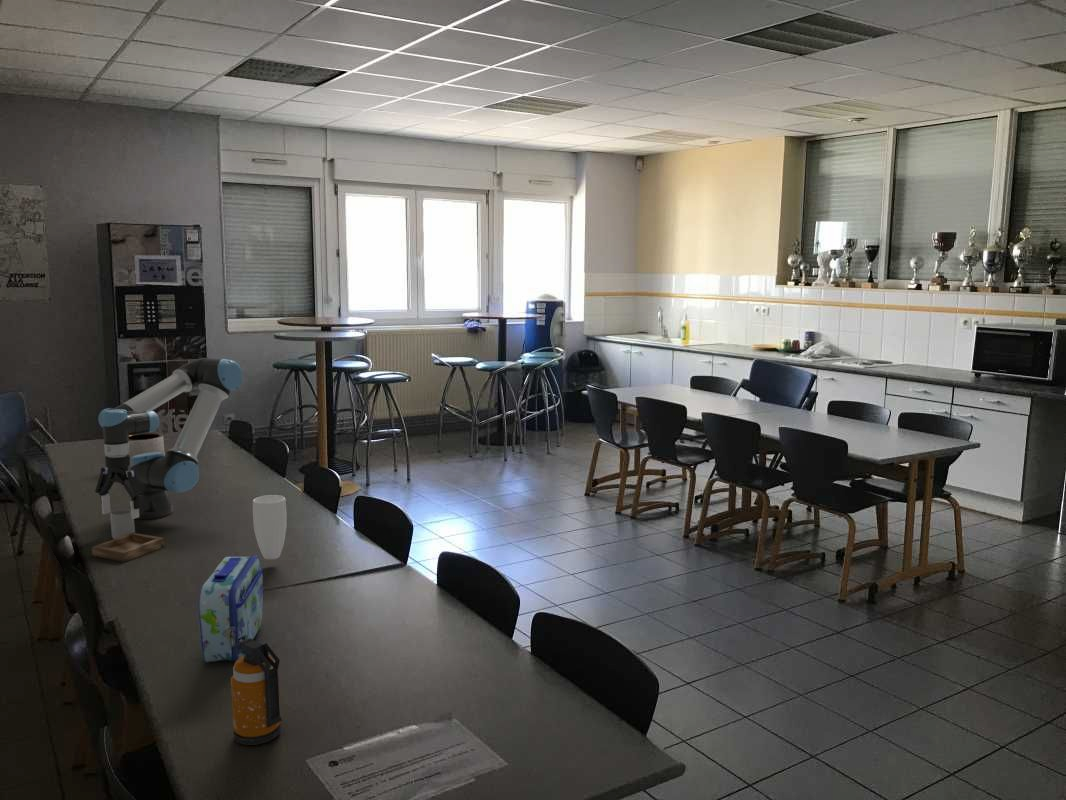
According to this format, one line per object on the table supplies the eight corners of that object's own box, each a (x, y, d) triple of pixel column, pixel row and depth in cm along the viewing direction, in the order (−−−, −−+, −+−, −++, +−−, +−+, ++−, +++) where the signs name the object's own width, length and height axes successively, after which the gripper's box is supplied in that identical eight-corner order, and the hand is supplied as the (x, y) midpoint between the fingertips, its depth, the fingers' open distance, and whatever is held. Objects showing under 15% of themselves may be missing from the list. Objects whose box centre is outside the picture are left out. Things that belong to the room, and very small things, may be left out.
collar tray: (133, 541, 288) (132, 532, 287) (164, 546, 282) (163, 537, 282) (92, 555, 273) (91, 546, 273) (124, 562, 268) (123, 552, 267)
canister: (262, 718, 176) (257, 628, 173) (297, 735, 170) (293, 641, 167) (224, 738, 169) (219, 644, 166) (260, 756, 163) (255, 659, 159)
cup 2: (296, 562, 268) (293, 496, 264) (276, 573, 258) (273, 505, 255) (268, 558, 271) (265, 493, 268) (247, 569, 262) (244, 501, 258)
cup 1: (112, 541, 288) (110, 516, 286) (111, 533, 296) (109, 508, 295) (135, 538, 291) (133, 513, 289) (134, 530, 300) (132, 505, 298)
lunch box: (244, 669, 198) (239, 584, 194) (196, 671, 197) (191, 585, 193) (269, 622, 223) (265, 546, 220) (227, 624, 222) (222, 547, 219)
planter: (155, 475, 377) (152, 440, 374) (115, 474, 377) (112, 440, 375) (172, 465, 394) (170, 432, 392) (134, 465, 395) (132, 432, 392)
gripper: (81, 453, 290) (85, 514, 293) (135, 460, 281) (138, 522, 284) (100, 449, 297) (103, 508, 300) (153, 456, 287) (156, 517, 291)
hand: (120, 515), depth 292 cm, fingers open, 13 cm apart
